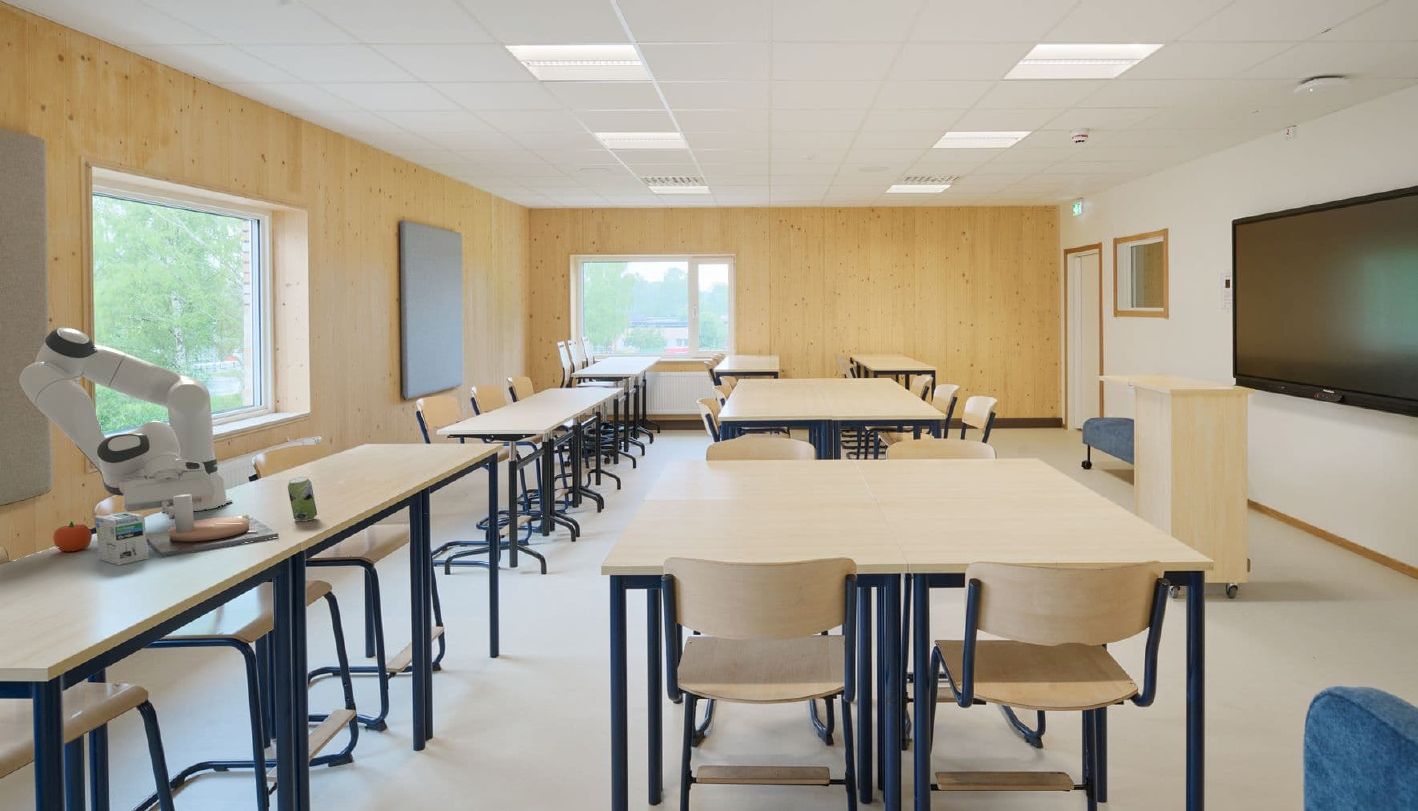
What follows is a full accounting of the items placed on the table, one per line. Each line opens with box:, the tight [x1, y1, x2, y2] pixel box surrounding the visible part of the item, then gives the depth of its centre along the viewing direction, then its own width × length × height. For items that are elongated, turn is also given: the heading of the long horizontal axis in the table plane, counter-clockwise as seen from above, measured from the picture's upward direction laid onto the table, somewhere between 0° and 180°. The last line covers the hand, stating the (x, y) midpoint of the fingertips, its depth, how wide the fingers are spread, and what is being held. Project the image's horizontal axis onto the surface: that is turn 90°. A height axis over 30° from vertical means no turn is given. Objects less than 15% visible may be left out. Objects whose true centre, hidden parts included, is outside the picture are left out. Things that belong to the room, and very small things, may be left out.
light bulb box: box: [94, 510, 149, 566], centre depth 213 cm, size 11×7×11 cm, turn 56°
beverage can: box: [287, 476, 318, 522], centre depth 250 cm, size 6×7×12 cm
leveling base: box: [146, 514, 279, 559], centre depth 232 cm, size 26×26×3 cm
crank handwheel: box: [168, 494, 249, 541], centre depth 231 cm, size 18×18×11 cm
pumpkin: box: [52, 521, 93, 553], centre depth 223 cm, size 8×8×7 cm
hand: (174, 517), depth 226 cm, fingers closed
